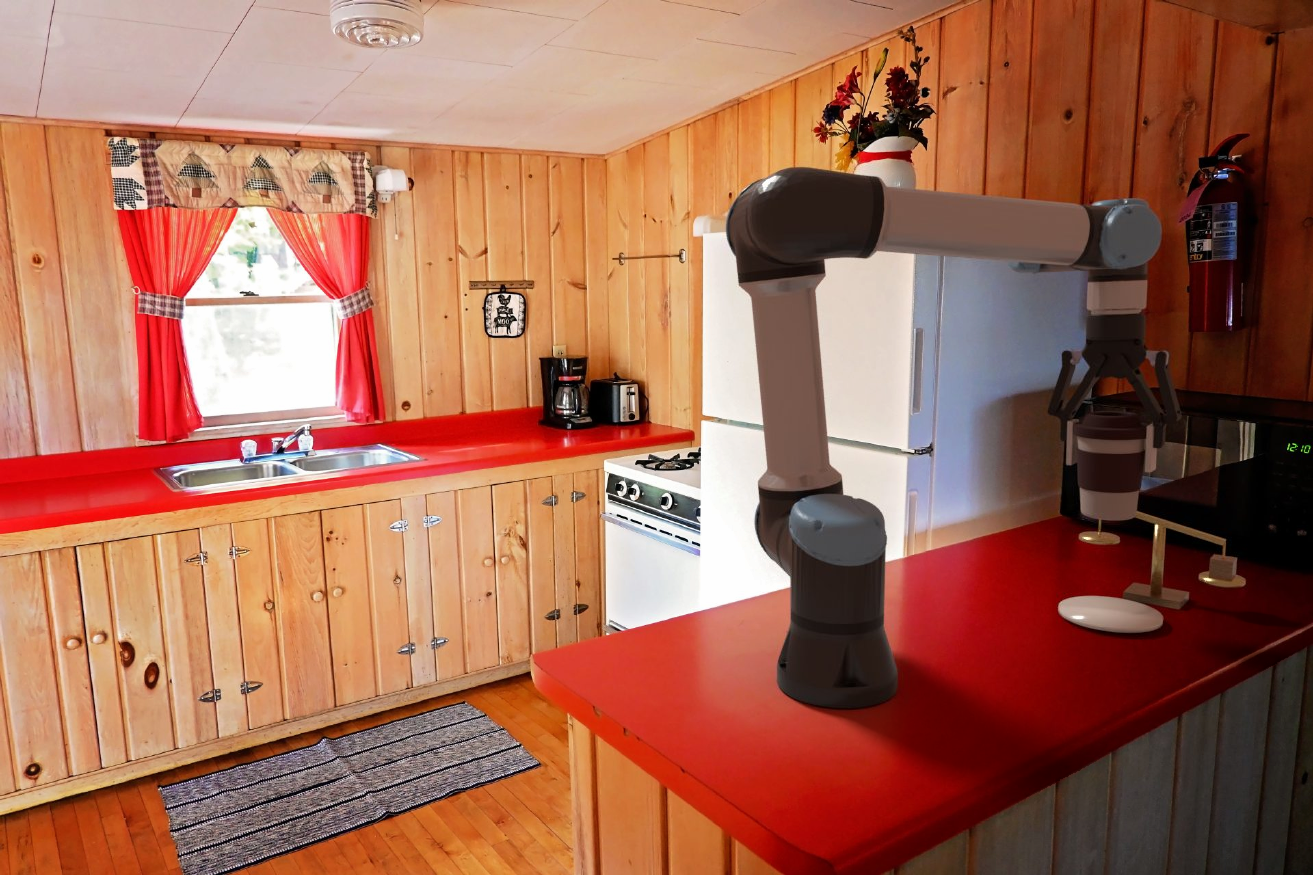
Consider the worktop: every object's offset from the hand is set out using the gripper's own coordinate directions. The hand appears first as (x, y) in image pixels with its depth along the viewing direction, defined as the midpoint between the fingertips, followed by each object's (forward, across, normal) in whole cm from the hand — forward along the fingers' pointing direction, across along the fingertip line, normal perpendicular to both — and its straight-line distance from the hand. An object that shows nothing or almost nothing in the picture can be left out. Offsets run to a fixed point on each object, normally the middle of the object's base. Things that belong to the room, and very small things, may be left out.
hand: (1110, 466), depth 132 cm
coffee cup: (+7, 0, 0) cm, 7 cm away
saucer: (+23, 0, -1) cm, 23 cm away
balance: (+24, -3, -15) cm, 28 cm away
